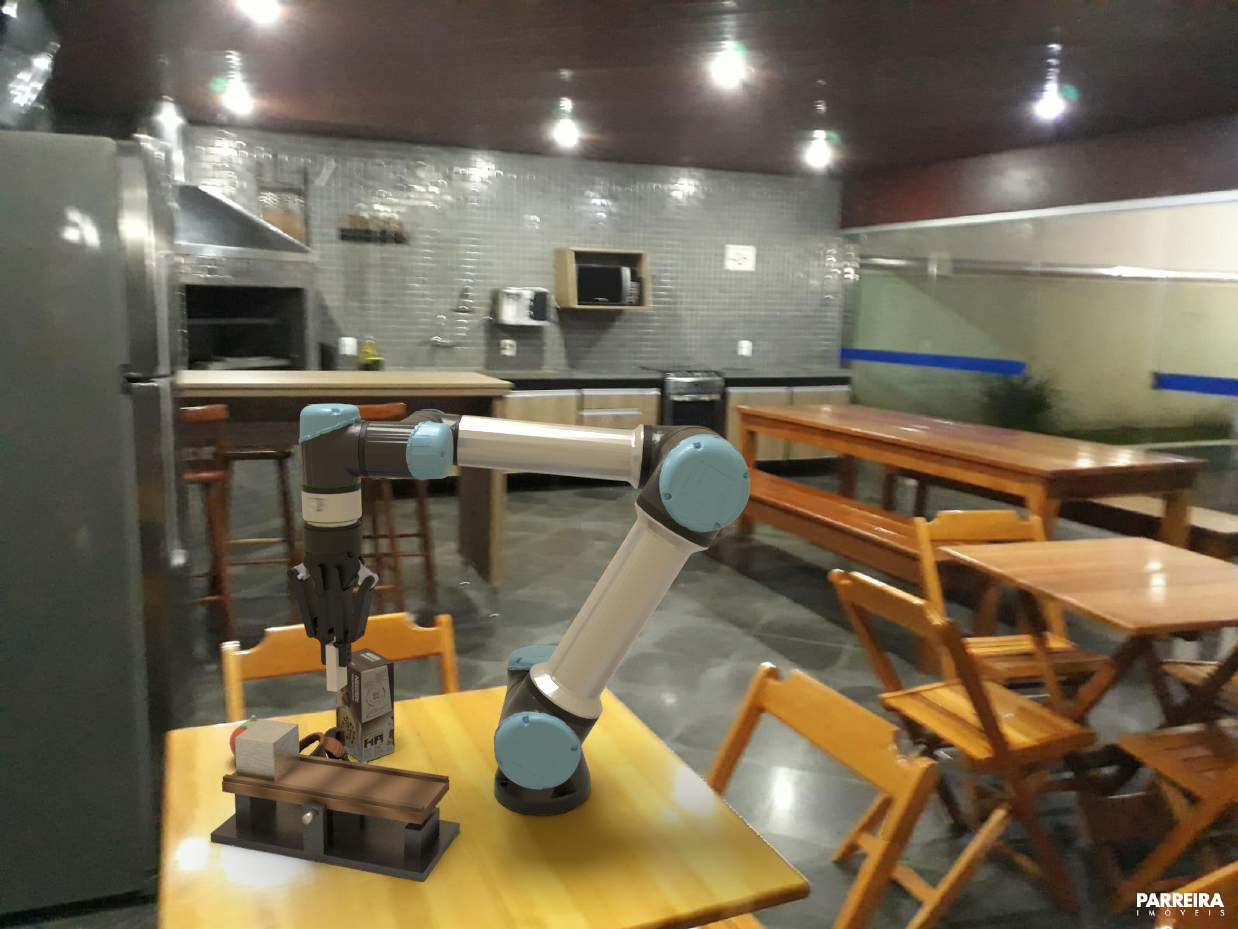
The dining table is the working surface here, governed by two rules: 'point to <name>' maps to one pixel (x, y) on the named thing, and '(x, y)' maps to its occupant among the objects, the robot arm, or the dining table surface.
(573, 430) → the robot arm
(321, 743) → the brown spiky open ring
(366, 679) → the coffee box
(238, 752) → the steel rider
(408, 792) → the seesaw beam
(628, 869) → the dining table surface
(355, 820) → the pivot stand
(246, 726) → the tomato
